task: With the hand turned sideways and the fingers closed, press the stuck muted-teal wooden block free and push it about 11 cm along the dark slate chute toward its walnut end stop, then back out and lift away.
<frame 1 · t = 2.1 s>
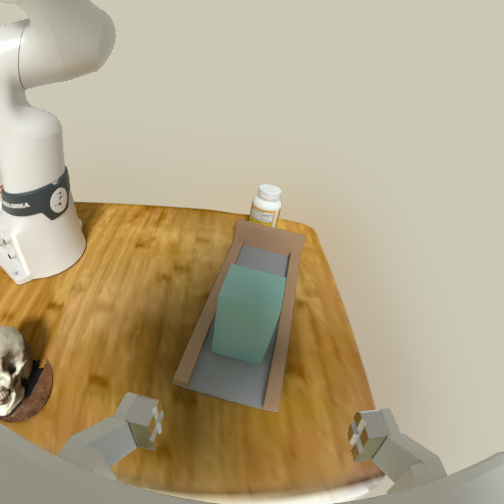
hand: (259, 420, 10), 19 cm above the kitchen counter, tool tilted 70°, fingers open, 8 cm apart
supplement bottle: (260, 234, 56), on the kitchen counter
jammed block: (246, 318, 31), point 5 cm above the kitchen counter, slide at 0.0 cm
skull: (15, 381, 22), on the kitchen counter
chute: (251, 306, 40), on the kitchen counter
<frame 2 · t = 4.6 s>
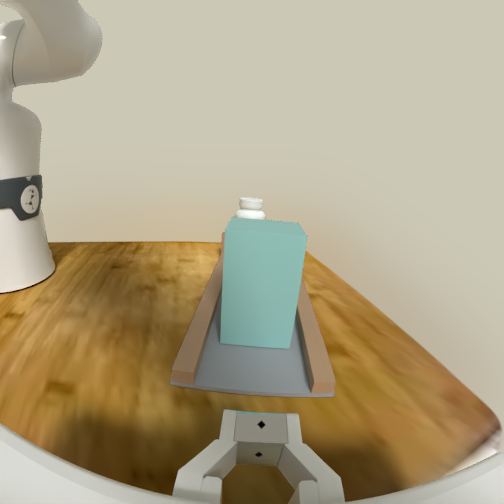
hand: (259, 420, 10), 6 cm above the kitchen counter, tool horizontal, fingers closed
supplement bottle: (247, 254, 51), on the kitchen counter
jammed block: (260, 282, 25), point 5 cm above the kitchen counter, slide at 0.0 cm
chute: (256, 302, 33), on the kitchen counter
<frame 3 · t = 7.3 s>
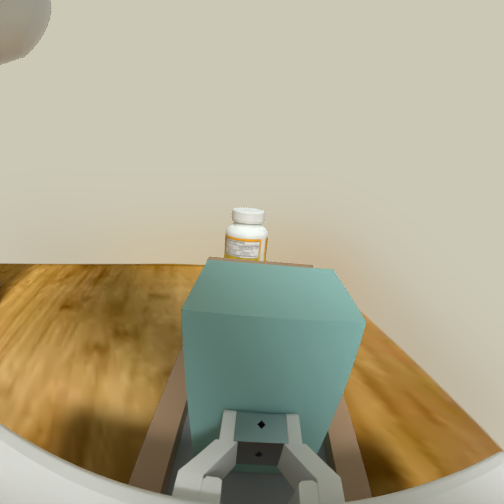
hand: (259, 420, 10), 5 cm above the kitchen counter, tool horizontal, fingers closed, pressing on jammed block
supplement bottle: (243, 283, 38), on the kitchen counter
jammed block: (261, 381, 13), point 6 cm above the kitchen counter, slide at 0.9 cm, touching gripper
chute: (255, 379, 20), on the kitchen counter
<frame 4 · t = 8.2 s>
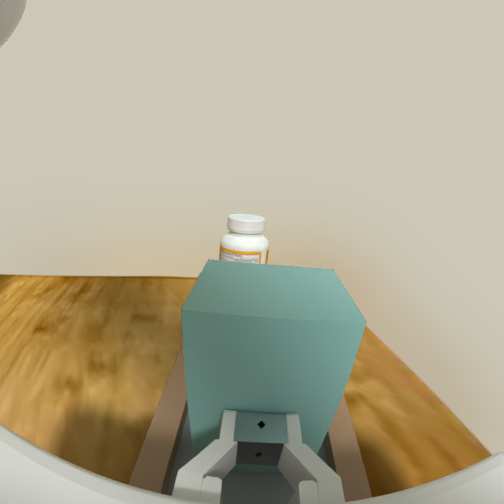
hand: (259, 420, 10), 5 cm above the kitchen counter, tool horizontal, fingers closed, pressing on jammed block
supplement bottle: (240, 300, 33), on the kitchen counter
jammed block: (261, 381, 13), point 6 cm above the kitchen counter, slide at 6.0 cm, touching gripper
chute: (253, 431, 15), on the kitchen counter
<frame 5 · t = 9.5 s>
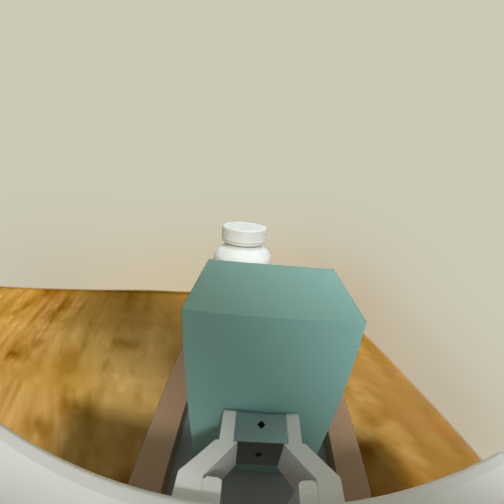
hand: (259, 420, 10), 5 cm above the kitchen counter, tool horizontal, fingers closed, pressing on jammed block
supplement bottle: (237, 320, 29), on the kitchen counter
jammed block: (262, 380, 13), point 6 cm above the kitchen counter, slide at 10.9 cm, touching gripper
chute: (250, 495, 10), on the kitchen counter
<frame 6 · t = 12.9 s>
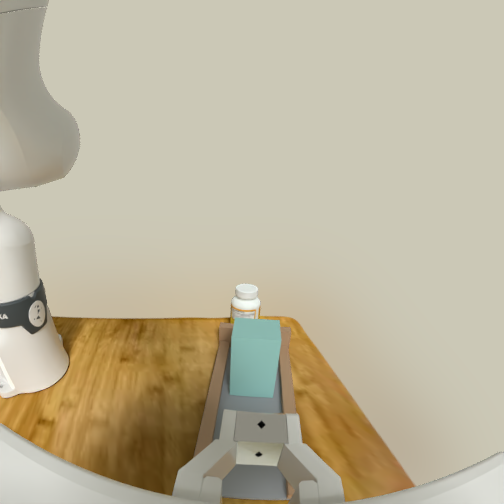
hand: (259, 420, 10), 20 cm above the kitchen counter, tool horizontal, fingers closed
supplement bottle: (243, 334, 53), on the kitchen counter
jammed block: (254, 359, 37), point 5 cm above the kitchen counter, slide at 10.9 cm
chute: (250, 405, 35), on the kitchen counter
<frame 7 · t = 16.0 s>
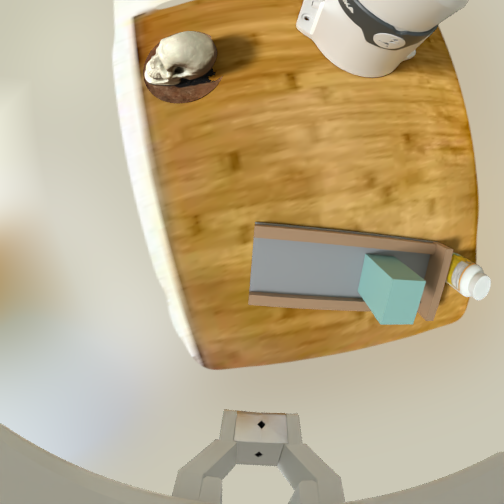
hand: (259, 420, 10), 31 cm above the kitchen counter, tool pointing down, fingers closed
supplement bottle: (449, 266, 40), on the kitchen counter
jammed block: (388, 287, 36), point 6 cm above the kitchen counter, slide at 10.9 cm
skull: (184, 66, 33), on the kitchen counter
chute: (352, 271, 41), on the kitchen counter
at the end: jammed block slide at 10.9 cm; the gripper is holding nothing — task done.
